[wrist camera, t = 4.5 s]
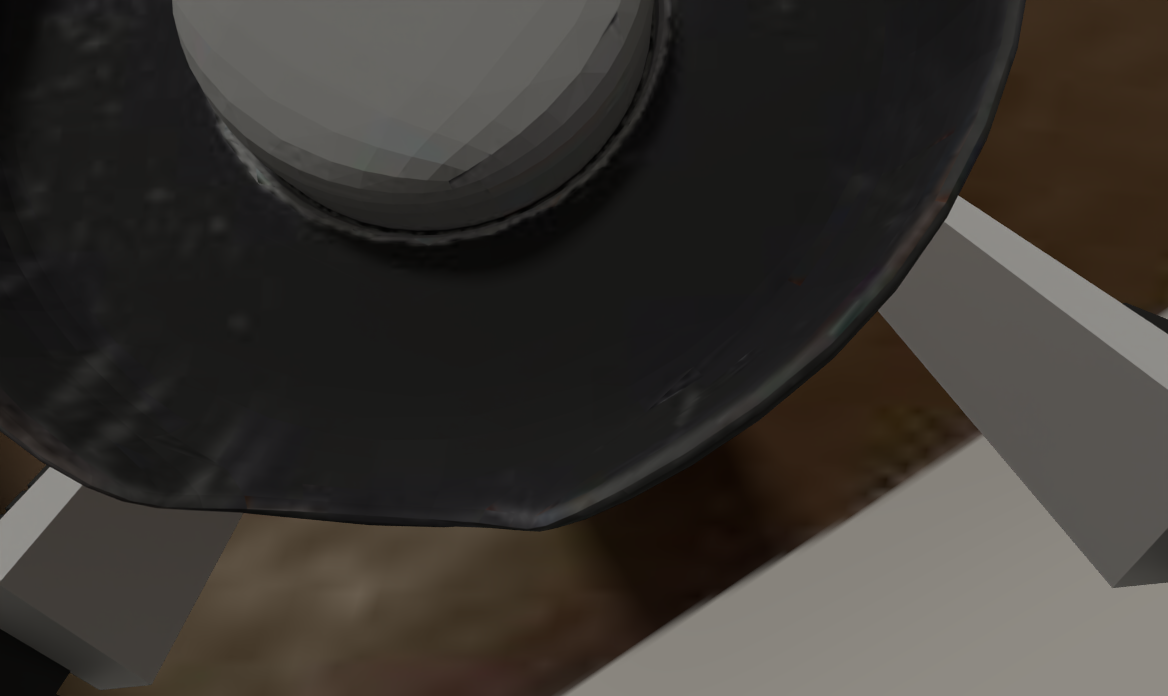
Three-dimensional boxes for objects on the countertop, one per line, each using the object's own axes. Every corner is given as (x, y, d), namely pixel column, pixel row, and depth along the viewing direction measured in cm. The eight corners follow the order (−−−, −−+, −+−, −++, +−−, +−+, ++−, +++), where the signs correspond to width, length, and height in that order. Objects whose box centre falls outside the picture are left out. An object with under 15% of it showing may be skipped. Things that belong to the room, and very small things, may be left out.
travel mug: (588, 218, 24) (447, -806, 4) (711, 346, 23) (1394, -123, 3) (457, 336, 23) (-442, -98, 3) (576, 471, 22) (274, 932, 3)
